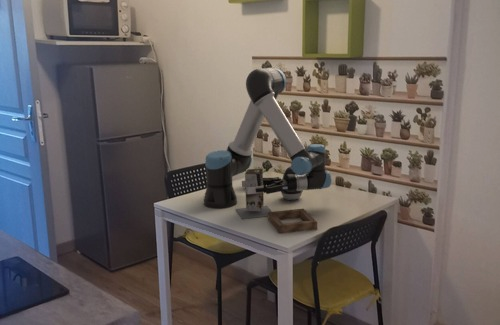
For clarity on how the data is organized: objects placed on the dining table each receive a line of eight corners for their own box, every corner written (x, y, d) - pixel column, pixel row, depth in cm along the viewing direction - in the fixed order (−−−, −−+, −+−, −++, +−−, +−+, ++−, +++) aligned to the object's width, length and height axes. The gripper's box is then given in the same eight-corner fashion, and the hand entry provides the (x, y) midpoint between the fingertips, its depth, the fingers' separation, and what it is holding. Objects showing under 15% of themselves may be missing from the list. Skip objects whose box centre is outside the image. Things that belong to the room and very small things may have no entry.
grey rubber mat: (241, 219, 204) (241, 218, 204) (235, 209, 216) (235, 208, 216) (274, 215, 207) (274, 214, 207) (267, 206, 219) (266, 205, 219)
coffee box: (261, 211, 206) (259, 173, 202) (245, 211, 207) (244, 173, 204) (264, 204, 215) (263, 168, 211) (249, 204, 216) (248, 168, 212)
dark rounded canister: (302, 195, 235) (302, 164, 231) (302, 201, 225) (302, 169, 221) (281, 195, 236) (280, 164, 232) (280, 201, 226) (279, 169, 222)
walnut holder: (279, 233, 187) (279, 225, 186) (268, 219, 203) (268, 212, 203) (317, 229, 190) (317, 221, 189) (303, 215, 206) (303, 208, 206)
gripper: (303, 198, 202) (250, 203, 198) (287, 184, 224) (239, 188, 220) (303, 180, 201) (250, 185, 196) (287, 168, 223) (239, 172, 218)
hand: (244, 187), depth 208 cm, fingers closed on coffee box, 10 cm apart
